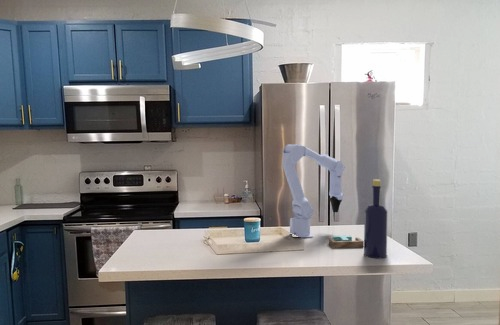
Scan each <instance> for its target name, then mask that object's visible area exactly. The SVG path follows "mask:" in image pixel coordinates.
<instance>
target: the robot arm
mask: <svg viewBox="0 0 500 325" xmlns="http://www.w3.org/2000/svg"><path fill="white" fill-rule="evenodd" d="M303 157H307V158H309V159H311V160H314V161H316V162H317V164H318V165H319V166H320V167H323V168H325V169H327V170H328V171H329V192H328V195H329V196H330V197H328V200H329V202H330V204H331V209H332V213H338V212H339V208H340V205H341V204H342V201H343V196H344V193H342V187H343V178H342V176H343V172H344V170H345V166H344V165H345V164H344V163H343V162H342V161H341V160H337V159H336V158H335V157H331V156H329V154H327V153H322V154H319V153H317V152H316V151H314V150H313V149H311V148H309V147H307V146H305V145H303V144H291V143H288V144H286V145H285V146H284V148H283V150H282V164H281V165H282V169H283V172H284V174H285V178H286V180H287V184H288V187H289V190H290V193H291V195H292V196H291V197H292V199H293V200H292V201H291V204H292V209H291V210H292V213H293V214H294V216H293V217H290V219H289V234H290V233H292V234H294V235H296V236H298V237H301V238H313V235H312V234H311V218H312V216H313V215H314V207H313V206H312V205H311V203H310V201H309V200H308V198H306V196H305V194H304V190H303V187H302V185H301V182H300V178H299V174H298V172H297V169H296V165H297V163H298V162H299V161H300V160H301V159H302V158H303Z"/></svg>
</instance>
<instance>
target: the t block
mask: <svg viewBox="0 0 500 325" xmlns="http://www.w3.org/2000/svg"><path fill="white" fill-rule="evenodd" d="M332 239H333V240H334V241H353V237H352V235H351V234H350V235H343V234H342V235H340V234H339V235H332Z"/></svg>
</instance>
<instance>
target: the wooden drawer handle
mask: <svg viewBox="0 0 500 325" xmlns="http://www.w3.org/2000/svg"><path fill="white" fill-rule="evenodd" d="M328 244H329V246H331V248H333V249H340V248H341V249H342V248H344V249H345V248H346V249H347V248H364V240H363V239H361V238H359V237H355V240H352V241H334V240H333V239H332V238H331V237H329V238H328Z"/></svg>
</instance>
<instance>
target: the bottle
mask: <svg viewBox="0 0 500 325" xmlns="http://www.w3.org/2000/svg"><path fill="white" fill-rule="evenodd" d="M371 189H372V204H369V205H368V206H367V207H366V208H365V210H364V226H363V228H364V230H363V234H364V236H363V241H364V245H363V255H364V256H365V255H366V257H367V256H368V257H367V258H371V259H378V258H379V259H385V258H387V257H388V218H389V216H388V212H389V211H388V209H387V208H386V206H385V205H381V204H380V203H381V202H380V201H381V200H380V199H381V189H382V186H381V179H373V180H372V186H371Z"/></svg>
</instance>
